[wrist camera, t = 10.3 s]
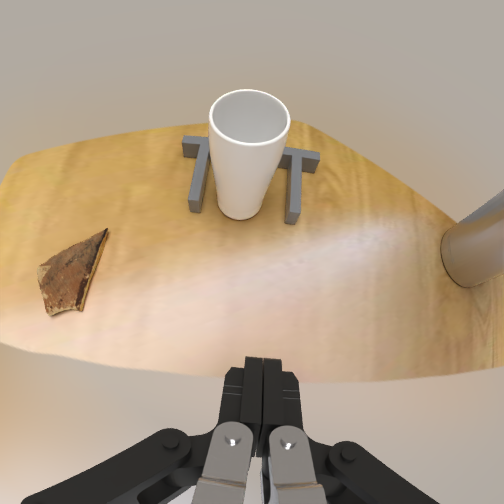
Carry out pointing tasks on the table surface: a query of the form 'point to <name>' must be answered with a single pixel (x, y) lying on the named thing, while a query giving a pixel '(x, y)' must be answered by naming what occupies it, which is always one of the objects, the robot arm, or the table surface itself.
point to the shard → (70, 274)
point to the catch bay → (290, 160)
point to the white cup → (245, 148)
